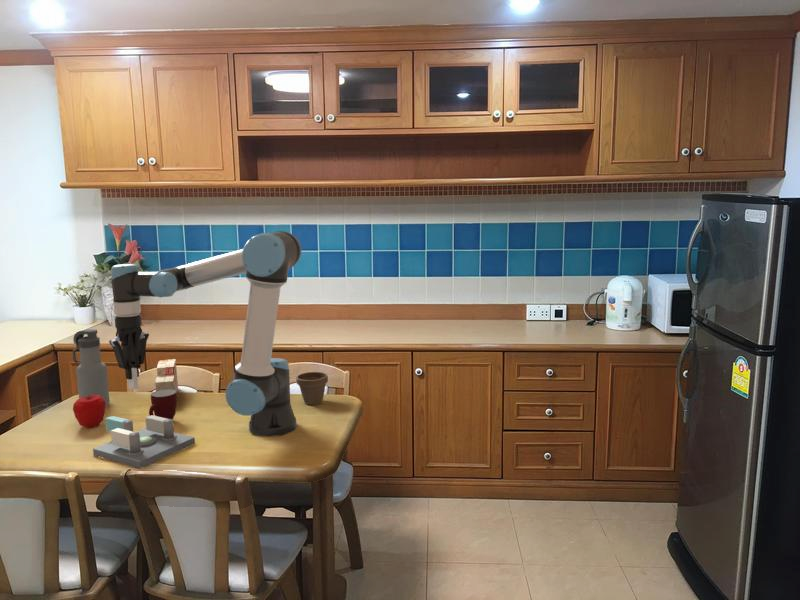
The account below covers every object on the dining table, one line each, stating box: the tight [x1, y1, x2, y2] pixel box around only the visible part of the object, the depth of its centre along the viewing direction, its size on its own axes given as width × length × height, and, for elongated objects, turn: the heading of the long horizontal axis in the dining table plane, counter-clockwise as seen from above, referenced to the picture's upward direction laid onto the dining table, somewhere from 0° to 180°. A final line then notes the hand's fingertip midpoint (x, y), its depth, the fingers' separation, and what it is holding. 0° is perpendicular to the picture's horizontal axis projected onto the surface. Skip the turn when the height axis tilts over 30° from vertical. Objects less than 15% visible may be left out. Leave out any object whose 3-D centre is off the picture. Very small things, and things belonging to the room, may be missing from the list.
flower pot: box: [295, 371, 329, 406], centre depth 226 cm, size 12×11×10 cm
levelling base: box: [92, 427, 196, 469], centre depth 185 cm, size 20×20×3 cm
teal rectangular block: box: [105, 415, 134, 433], centre depth 189 cm, size 10×3×5 cm, turn 62°
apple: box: [72, 395, 107, 429], centre depth 204 cm, size 10×10×11 cm
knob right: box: [145, 414, 175, 439], centre depth 190 cm, size 10×3×5 cm, turn 62°
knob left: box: [110, 428, 141, 453], centre depth 179 cm, size 10×3×5 cm, turn 62°
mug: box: [148, 389, 178, 421], centre depth 206 cm, size 11×8×10 cm
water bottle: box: [72, 328, 110, 407], centre depth 223 cm, size 10×10×28 cm
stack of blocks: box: [154, 358, 179, 394], centre depth 233 cm, size 21×6×12 cm, turn 16°
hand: (133, 388), depth 195 cm, fingers closed
